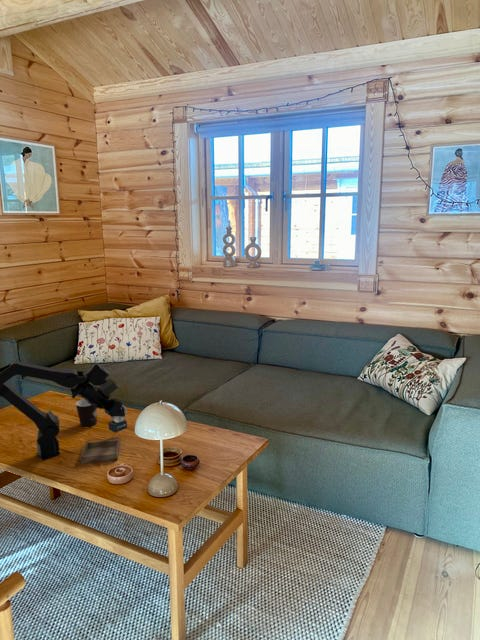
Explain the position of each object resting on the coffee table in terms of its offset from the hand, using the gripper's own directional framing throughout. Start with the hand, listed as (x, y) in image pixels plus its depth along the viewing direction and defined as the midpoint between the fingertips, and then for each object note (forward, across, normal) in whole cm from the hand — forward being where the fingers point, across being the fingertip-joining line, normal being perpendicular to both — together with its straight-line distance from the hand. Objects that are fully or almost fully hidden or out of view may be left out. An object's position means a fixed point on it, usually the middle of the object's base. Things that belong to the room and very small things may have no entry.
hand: (119, 412), depth 184 cm
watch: (+4, 0, +6) cm, 7 cm away
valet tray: (-2, -8, +16) cm, 18 cm away
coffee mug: (+6, +20, +9) cm, 23 cm away
